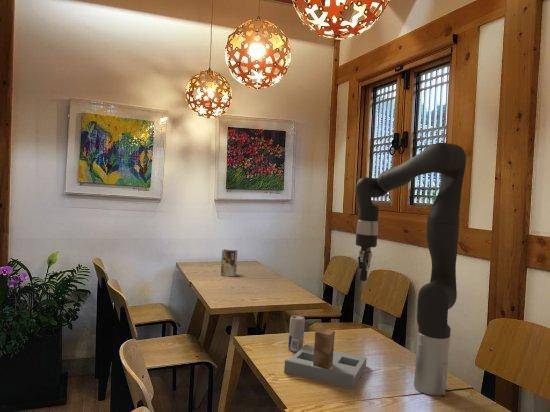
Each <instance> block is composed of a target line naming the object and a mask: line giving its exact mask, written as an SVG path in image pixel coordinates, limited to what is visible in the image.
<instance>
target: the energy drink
mask: <svg viewBox="0 0 550 412" xmlns="http://www.w3.org/2000/svg"><path fill="white" fill-rule="evenodd" d="M305 321H306V319H305V317H304V316H302V315H298V314H297V315H296V314H295V315H294V314H293V315H291V316H290V318H289V331H288V344H287V345H288V347H287V349H288V350H289V351H290V352H293V353H297V352H298V351H299V350H300V349H301V348H302V347H303V346H304V337H305V326H306V325H305V324H306V323H305Z"/></svg>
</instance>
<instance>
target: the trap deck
mask: <svg viewBox="0 0 550 412" xmlns="http://www.w3.org/2000/svg"><path fill="white" fill-rule="evenodd" d="M313 359H314V345H309V344H303V347H302V348H301V349H300V350H299V351H298V352H295V353H294V354H293V355H292V356H291V357H290V358H289V359H285V360H284V367H283V368H284V370H283V373H284V374H287V375H291V376H296V377H300V378H304V379H308V380H313V381H317V382H320V383H325V384H329V385H333V386H337V387H340V388H345V389H349V390H353V389H354V387H355V385H356V384H357V382H358V381H359V379H360V377H361V375H362V374H363V372H364V370H365V368H366V367H367V357H366V356H361V355H357V354H351V353H347V352H343V351H337V350H334V351H333V364H332V365H331V367H330V368H329V369H326V368H321V367H317V366H313Z"/></svg>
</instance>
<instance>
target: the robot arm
mask: <svg viewBox="0 0 550 412" xmlns="http://www.w3.org/2000/svg"><path fill="white" fill-rule="evenodd" d="M466 165H467V155H466V151H465V150H464V148H463V147H462V146H461V145H459V144H454V143H448V142H435V143H433V144H431V145H430V146H428V147H426V148H425V149H424V150H422V151H421V152H420V153H418V154H416V155H415V156H413V157H411V158H410V159H408V160H406V161H404V162H402V163H399V164H398V165H396V166H393V167H391V168H388V169H387V170H384V171H382V172H380V173H379V174H378V175H377V177H376V178H375V177H366V176H365V177H361V178H359V179H358V180H357V182H356V184H355V195H356V201H357V206H358V217H357V218H358V219H357V223H356V234H355V245H356V246H358V247H360V250H359V251H358V257H357V261H358V269H359V271H360V273H359V274H360V275H359V280H360V281H362V282H366V281H367V280H368V271H369V269H370V266H371V261H372V257H373V252H372V250H371V249H372V248H376V247H377V246H378V235H379V206H378V205H376V204H374V203H373V202H372V201H373V200H372V198H381V197H383V196H385V195H386V194H388V193H390V191H393V190H395V189H398V188H401V187H404V186H405V185H407V184H409V183H410V182H411V181H412V180H414V179H415V178H417V177H418V176H421V175H425V174H426V175H427V174H430V173H431V174H432V173H436V174H440V181H439V189H438V193H437V195H436V197H435V199H434V201H433V203H432V205H431V207H430V209H429V211H428V213H427V217H426V218H427V219H426V233H425V234H426V235H425V236H426V237H425V238H426V242H427V243H426V244H427V248H428V252H429V255H430V259H431V273H430V280H429V282H428V283H425V284H424V285H422V286H421V288H420V289H419V290H418V295H417V307H416V309H417V310H416V322H417V326H418V328H417V331H418V332H417V342H416V355H415V356H416V357H415V367H414V379H413V387H414V389H416V390H417V391H419V392H420V393H422V394H425V395H429V396H442V395H444V397H446V389H447V378H448V366H449V355H450V354H449V353H450V340H451V331H452V329H451V326H450V325H449V324H448V317H449V316H448V315H449V310H450V309H451V308H452V307H454V305H455V304H456V302H457V298H458V295H457V294H458V293H457V291H458V290H457V273H456V271H457V270H456V268H457V267H456V266H457V257H458V247H459V245H458V243H459V234H460V233H459V231H460V210H461V203H462V202H461V198H462V189H463V184H464V183H463V182H464V177H465V173H466Z"/></svg>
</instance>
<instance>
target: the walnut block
mask: <svg viewBox="0 0 550 412" xmlns="http://www.w3.org/2000/svg"><path fill="white" fill-rule="evenodd" d="M335 335H336V331H335V330H334V329H329V328H324V327H319V328H318V329H317V330H316V331H315V332H314V345H313V346H314V359H313V366H317V367H321V368H326V369H329V368H330V367H331V365H332V364H333V351H335V349H334V348H335Z"/></svg>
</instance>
